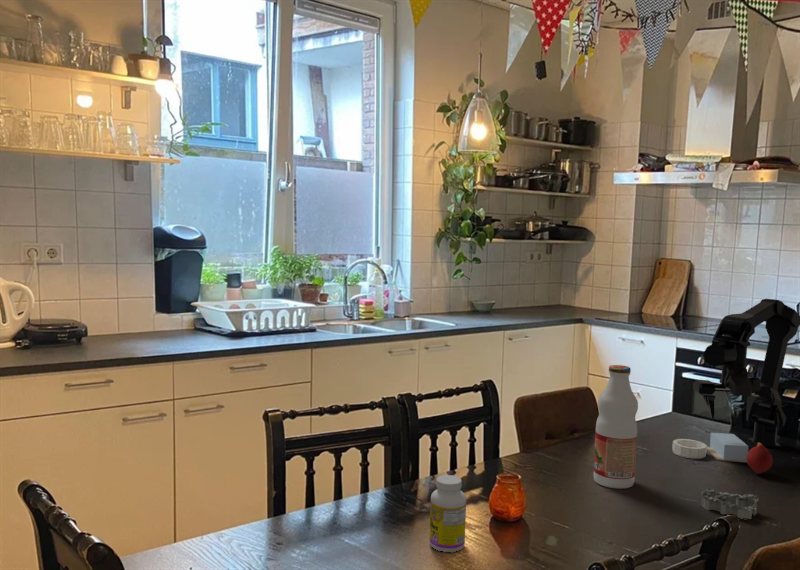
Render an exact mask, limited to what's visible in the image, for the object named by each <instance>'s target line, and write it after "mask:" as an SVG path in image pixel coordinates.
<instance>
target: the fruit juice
mask: <svg viewBox="0 0 800 570" xmlns="http://www.w3.org/2000/svg"><path fill="white" fill-rule="evenodd" d="M608 374H609V379H608V382H607V385H606V387H605V389H604V390H603V391H602V392H601V393H600V395H599V396H598V400H597V408H598V417H597V419H596V423H595V439H594V458H593V460H594V461H593V480H594V481H595V483H597V484H598V485H600V486H603V487H605V488H610V489H617V490H619V489H622V490H623V489H629V488H631V487H633V486H634V484H635V479H636V478H635V475H636V461H637V460H636V458H637V457H636V456H637V443H638V442H637V440H638V424H637V421H636V415H637V413H638V410H639V401H638V399H637V397H636V395H635V394H634V392H633V390H632V388H631V383H630V378H629V377H630V375H631V367H630V366H628V365H622V364H612V365H611V364H610V365H609V366H608Z"/></svg>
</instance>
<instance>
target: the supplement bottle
mask: <svg viewBox="0 0 800 570" xmlns="http://www.w3.org/2000/svg"><path fill="white" fill-rule="evenodd" d="M435 483H436V484H435V485H436V488H437V489H435V490H434V491H432V493H431V496H430V507H429V509H430V511H429V512H430V513H429V514H430V515H429V536H428V539H429V545H430V547H431V548H432V547H433V548H434V549H433V548H432V549H433V550H435V549H436V551H437V550H438V551H437V552H440V551H443V552H442V553H445V552H451V553H456V551H457V552H459V550H460V551H461V550H463V548H464V547H465V543H466V519H467V518H466V517H467V516H466V515H467V496H466V494H465V493H464V492H463V491H462V490H461V488H462V486H463V485H462V483H463V482H462V478H461V477H459V476H456V475H452V474H451V475H450V474H444V475H440V476H437V478H436V482H435Z"/></svg>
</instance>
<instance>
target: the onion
mask: <svg viewBox="0 0 800 570" xmlns="http://www.w3.org/2000/svg"><path fill="white" fill-rule="evenodd" d="M773 460H774V459H773V456H772V454H771V452H770V451H769V449H768V448H767V447H766V446H763V445H762V444H761V443H757V445H756V446H754V447H751V448H750V449H748V453H747V462H746V463H747V465H748V466H749V468H750V469H752V471H754V473H756V474H758V475H761V474H763V473H765V472H767V471H769V470H770V469H771V467H772V465H773Z"/></svg>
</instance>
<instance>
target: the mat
mask: <svg viewBox="0 0 800 570" xmlns="http://www.w3.org/2000/svg"><path fill="white" fill-rule="evenodd" d="M707 453H709V454H710V455H711V456H713V458H714V459H715V460H717V461H718V462H734V463H735V462H736V463H737V462H738V463H747V461H738V460H724V459H722V458H721V457H720V456H719V455H718V454H717V453H716V452H715V451H714V450H713V449H712V448H711V447H710V446H708V445H707Z"/></svg>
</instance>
